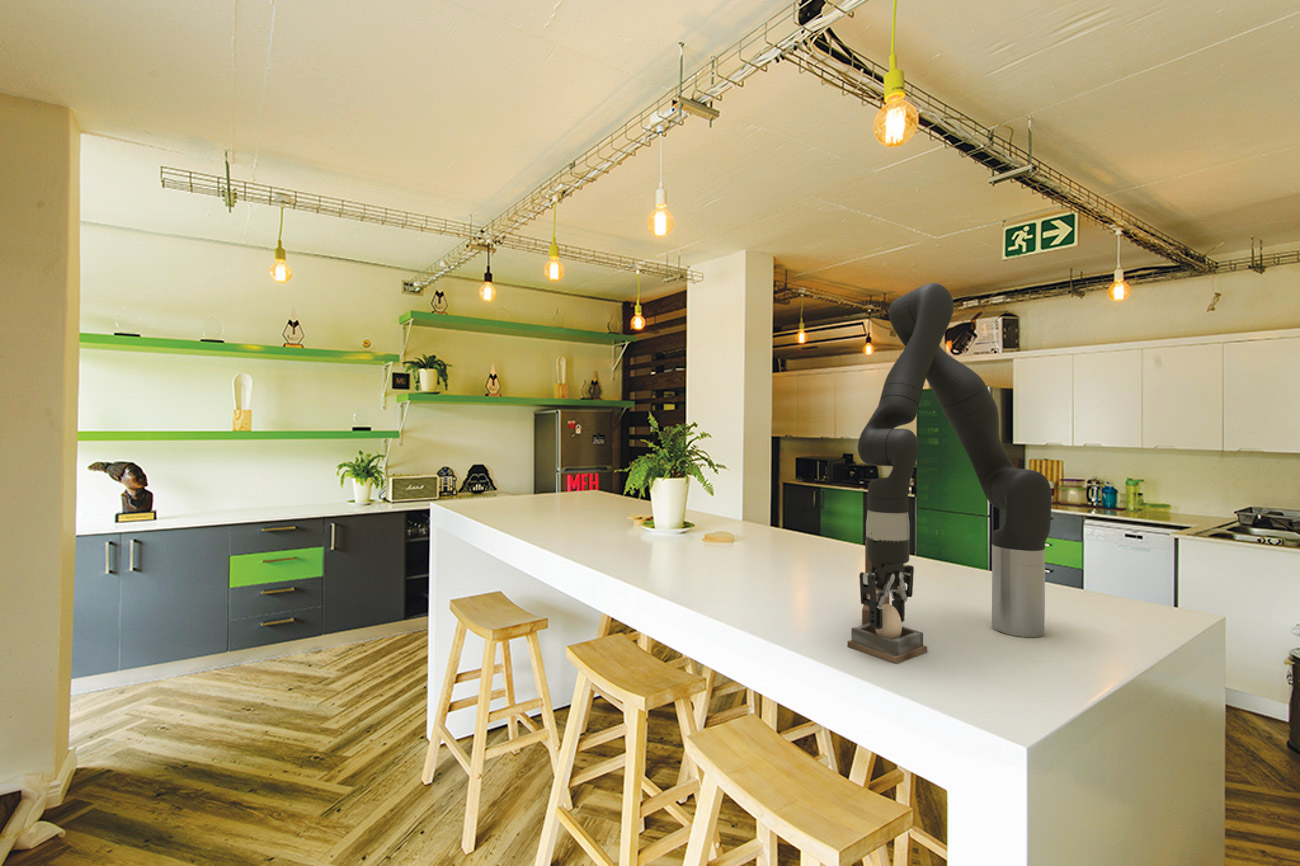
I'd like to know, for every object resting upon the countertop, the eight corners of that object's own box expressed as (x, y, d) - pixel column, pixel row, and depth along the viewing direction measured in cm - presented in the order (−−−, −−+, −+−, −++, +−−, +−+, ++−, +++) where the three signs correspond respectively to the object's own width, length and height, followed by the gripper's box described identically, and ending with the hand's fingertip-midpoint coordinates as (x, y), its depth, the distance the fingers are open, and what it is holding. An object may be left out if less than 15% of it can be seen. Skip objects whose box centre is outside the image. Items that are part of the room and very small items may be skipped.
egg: (905, 644, 109) (905, 604, 109) (895, 650, 105) (895, 609, 106) (881, 637, 112) (881, 599, 112) (870, 643, 109) (870, 603, 109)
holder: (878, 636, 116) (878, 618, 116) (927, 651, 108) (927, 632, 108) (847, 646, 110) (847, 628, 110) (896, 663, 102) (896, 643, 102)
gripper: (891, 529, 116) (891, 612, 116) (846, 536, 108) (846, 626, 108) (927, 534, 110) (927, 622, 110) (882, 542, 102) (882, 637, 102)
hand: (887, 624), depth 109 cm, fingers open, 6 cm apart
